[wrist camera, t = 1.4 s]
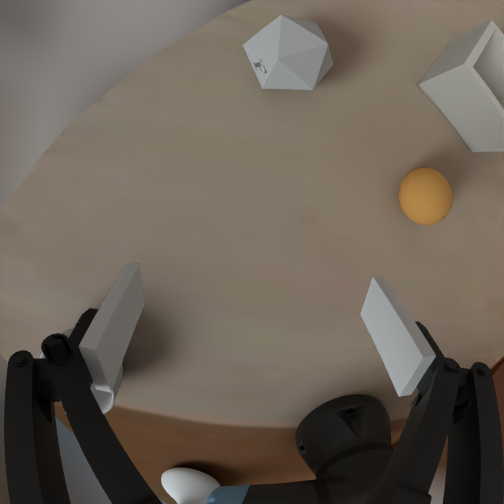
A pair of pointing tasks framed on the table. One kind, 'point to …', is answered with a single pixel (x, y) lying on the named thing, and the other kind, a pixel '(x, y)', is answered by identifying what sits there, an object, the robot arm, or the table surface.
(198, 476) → the flower in vase
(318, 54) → the die
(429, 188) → the ball
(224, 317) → the table surface
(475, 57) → the white open box
